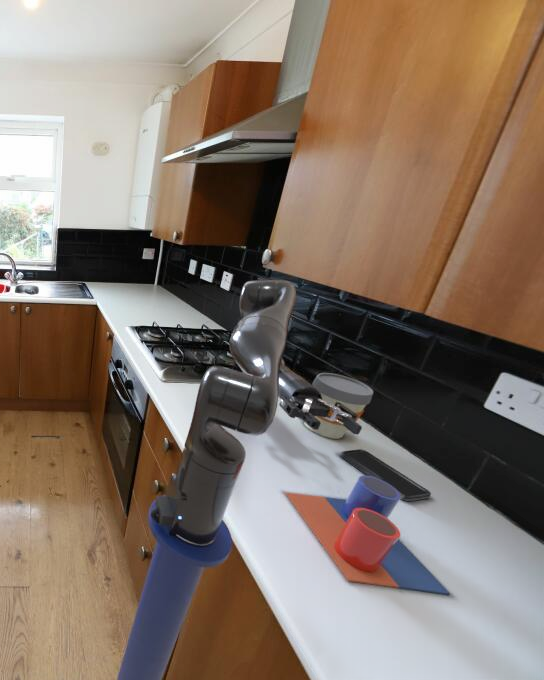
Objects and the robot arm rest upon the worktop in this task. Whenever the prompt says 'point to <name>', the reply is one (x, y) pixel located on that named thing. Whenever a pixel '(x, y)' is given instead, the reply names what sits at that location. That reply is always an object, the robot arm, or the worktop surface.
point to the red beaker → (366, 539)
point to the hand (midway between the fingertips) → (338, 428)
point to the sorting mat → (393, 571)
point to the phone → (385, 474)
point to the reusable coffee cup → (340, 400)
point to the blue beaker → (372, 496)
